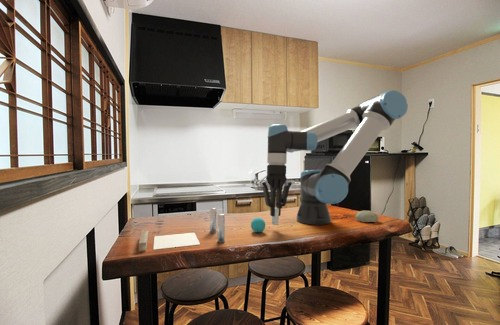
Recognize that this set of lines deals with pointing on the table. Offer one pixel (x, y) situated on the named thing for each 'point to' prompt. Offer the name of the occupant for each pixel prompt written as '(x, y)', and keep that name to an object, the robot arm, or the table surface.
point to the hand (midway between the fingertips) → (275, 224)
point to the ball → (258, 225)
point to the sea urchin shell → (367, 216)
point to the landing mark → (175, 241)
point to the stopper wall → (143, 241)
